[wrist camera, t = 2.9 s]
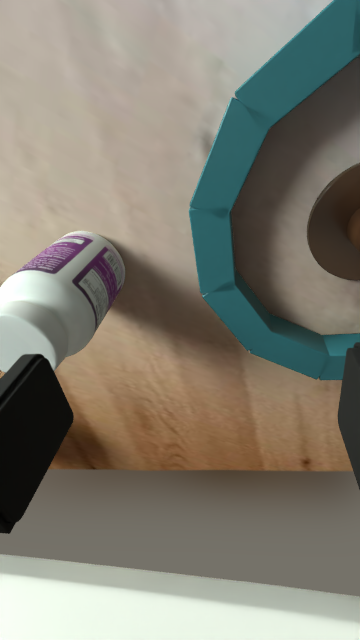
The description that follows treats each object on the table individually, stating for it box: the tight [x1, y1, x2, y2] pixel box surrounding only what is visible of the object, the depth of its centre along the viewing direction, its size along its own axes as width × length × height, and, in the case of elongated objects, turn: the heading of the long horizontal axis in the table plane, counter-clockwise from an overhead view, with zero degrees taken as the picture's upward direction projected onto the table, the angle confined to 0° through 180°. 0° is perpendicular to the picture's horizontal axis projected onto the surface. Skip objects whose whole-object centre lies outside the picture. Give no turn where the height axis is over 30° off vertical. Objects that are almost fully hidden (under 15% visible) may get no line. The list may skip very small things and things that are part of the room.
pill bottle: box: [0, 231, 125, 373], centre depth 19 cm, size 5×5×10 cm
